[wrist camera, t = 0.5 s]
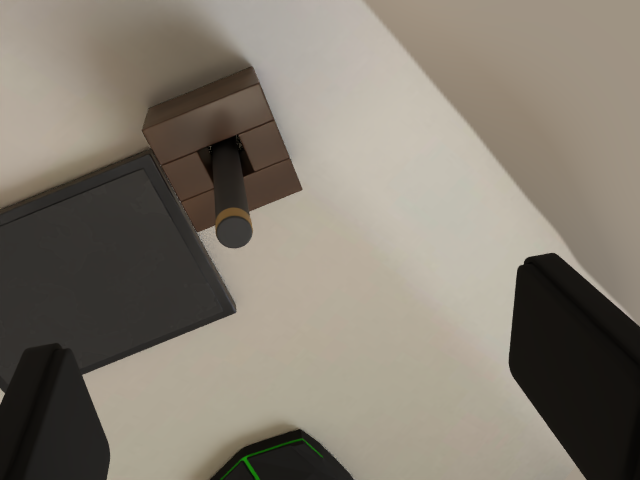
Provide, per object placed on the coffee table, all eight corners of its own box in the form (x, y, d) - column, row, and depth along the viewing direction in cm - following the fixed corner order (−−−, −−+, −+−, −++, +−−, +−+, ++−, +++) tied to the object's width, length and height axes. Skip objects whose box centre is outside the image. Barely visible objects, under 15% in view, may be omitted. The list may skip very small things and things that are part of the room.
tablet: (-110, 254, 32) (-119, 263, 31) (151, 148, 32) (149, 154, 31) (17, 393, 38) (12, 404, 37) (236, 305, 38) (236, 314, 37)
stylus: (206, 131, 32) (209, 225, 21) (230, 121, 32) (244, 211, 21) (217, 153, 33) (225, 254, 22) (240, 143, 33) (258, 241, 22)
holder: (148, 108, 31) (141, 130, 27) (252, 65, 31) (259, 82, 27) (197, 202, 34) (196, 233, 30) (292, 164, 34) (302, 190, 30)
